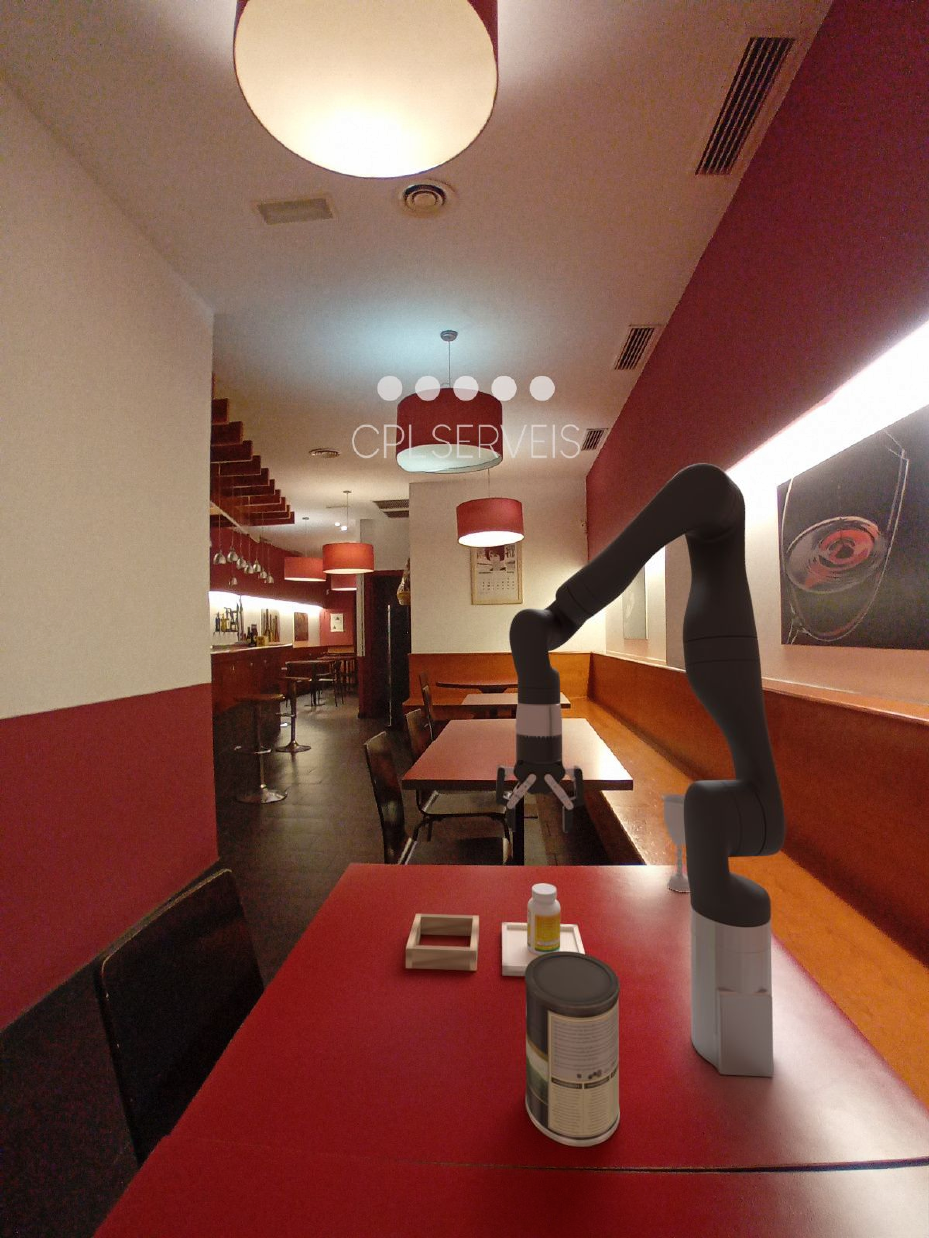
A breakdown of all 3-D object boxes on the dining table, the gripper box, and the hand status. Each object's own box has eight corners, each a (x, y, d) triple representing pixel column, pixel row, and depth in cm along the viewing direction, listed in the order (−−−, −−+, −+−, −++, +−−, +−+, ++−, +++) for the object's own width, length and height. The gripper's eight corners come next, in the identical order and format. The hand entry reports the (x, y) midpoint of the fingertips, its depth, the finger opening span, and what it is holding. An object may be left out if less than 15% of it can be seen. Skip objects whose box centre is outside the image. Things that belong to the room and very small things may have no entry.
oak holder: (476, 970, 88) (476, 950, 88) (405, 967, 88) (405, 948, 88) (478, 933, 99) (478, 915, 99) (416, 930, 99) (416, 913, 99)
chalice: (703, 895, 113) (702, 804, 113) (669, 895, 113) (668, 803, 114) (689, 879, 120) (689, 793, 121) (657, 879, 120) (656, 793, 121)
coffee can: (506, 1111, 62) (506, 979, 62) (555, 1057, 70) (554, 940, 70) (593, 1168, 55) (592, 1020, 56) (636, 1101, 63) (635, 972, 64)
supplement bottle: (520, 946, 93) (520, 887, 93) (542, 935, 96) (542, 878, 97) (544, 961, 89) (544, 899, 89) (567, 949, 92) (567, 889, 92)
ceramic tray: (588, 978, 86) (588, 968, 86) (502, 975, 86) (502, 965, 86) (577, 933, 99) (577, 924, 99) (502, 930, 99) (502, 922, 99)
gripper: (495, 733, 90) (496, 838, 89) (586, 734, 89) (587, 839, 89) (495, 727, 97) (495, 823, 97) (579, 727, 97) (579, 824, 96)
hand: (539, 830), depth 93 cm, fingers open, 8 cm apart
